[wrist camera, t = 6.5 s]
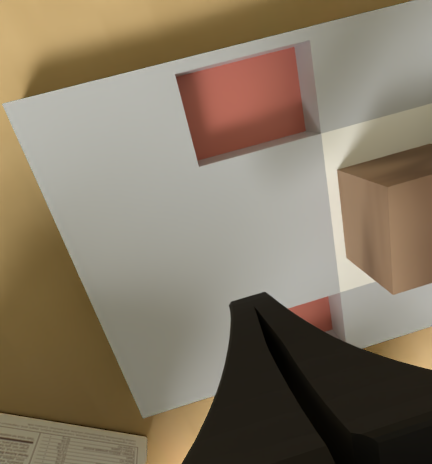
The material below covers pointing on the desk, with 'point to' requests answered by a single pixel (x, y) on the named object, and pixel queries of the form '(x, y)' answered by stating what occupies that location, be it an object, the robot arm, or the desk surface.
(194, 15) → the desk surface
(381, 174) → the walnut block
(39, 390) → the desk surface
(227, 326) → the trap deck
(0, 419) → the supplement box
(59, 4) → the desk surface
